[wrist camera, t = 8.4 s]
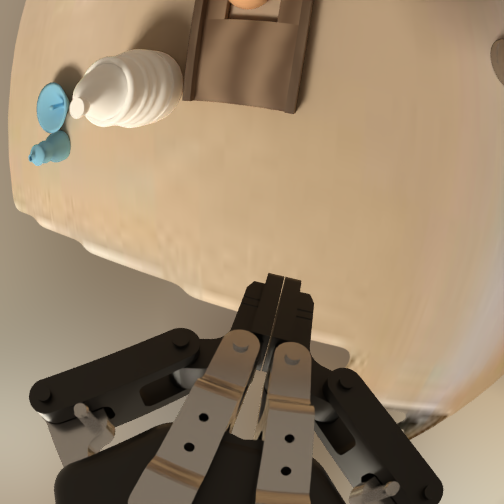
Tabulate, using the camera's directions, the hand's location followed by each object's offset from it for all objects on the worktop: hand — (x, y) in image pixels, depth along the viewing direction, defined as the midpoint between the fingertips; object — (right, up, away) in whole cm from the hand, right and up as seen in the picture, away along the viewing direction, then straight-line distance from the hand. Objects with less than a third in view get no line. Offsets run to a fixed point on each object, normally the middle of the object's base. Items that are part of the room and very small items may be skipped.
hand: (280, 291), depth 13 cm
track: (-1, +35, +17) cm, 39 cm away
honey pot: (-18, +29, +26) cm, 43 cm away
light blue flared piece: (-40, +29, +32) cm, 59 cm away
